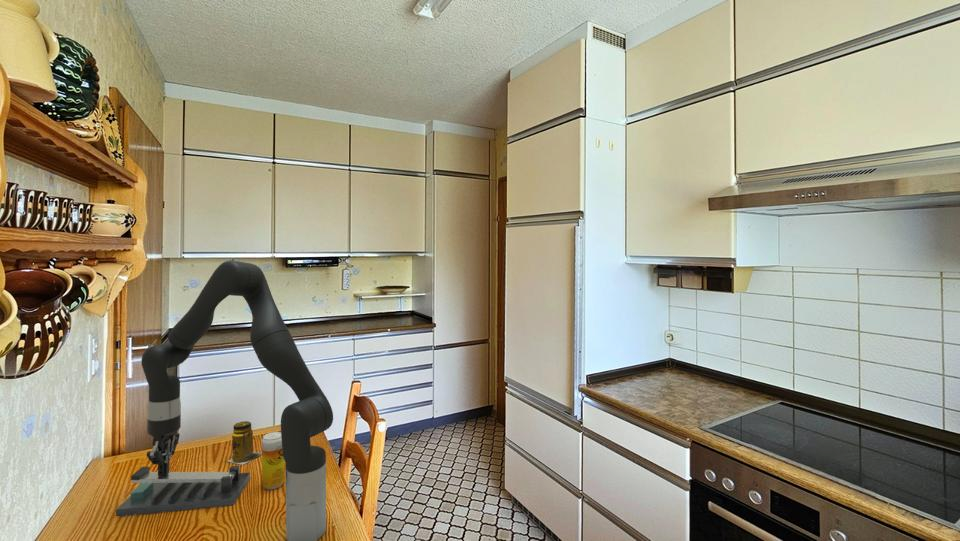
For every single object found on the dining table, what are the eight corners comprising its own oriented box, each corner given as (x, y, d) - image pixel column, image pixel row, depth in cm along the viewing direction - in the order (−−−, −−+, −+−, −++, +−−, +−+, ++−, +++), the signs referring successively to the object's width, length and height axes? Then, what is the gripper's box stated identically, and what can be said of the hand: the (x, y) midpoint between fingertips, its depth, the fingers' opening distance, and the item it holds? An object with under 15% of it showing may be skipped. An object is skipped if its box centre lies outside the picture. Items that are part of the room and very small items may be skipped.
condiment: (226, 461, 141) (225, 426, 141) (248, 450, 149) (247, 417, 148) (242, 465, 138) (242, 429, 138) (263, 454, 146) (263, 419, 146)
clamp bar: (230, 484, 120) (230, 475, 120) (130, 484, 115) (131, 475, 115) (236, 475, 125) (237, 467, 125) (141, 475, 120) (141, 466, 120)
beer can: (275, 491, 123) (275, 440, 123) (257, 489, 125) (257, 438, 124) (289, 480, 129) (288, 432, 129) (271, 478, 130) (271, 430, 130)
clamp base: (233, 505, 116) (233, 483, 116) (116, 516, 111) (115, 494, 111) (250, 478, 130) (249, 459, 130) (146, 488, 125) (146, 468, 124)
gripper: (167, 423, 113) (166, 486, 114) (190, 405, 126) (189, 462, 126) (134, 424, 111) (134, 488, 112) (161, 406, 124) (161, 464, 125)
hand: (163, 474), depth 119 cm, fingers closed
